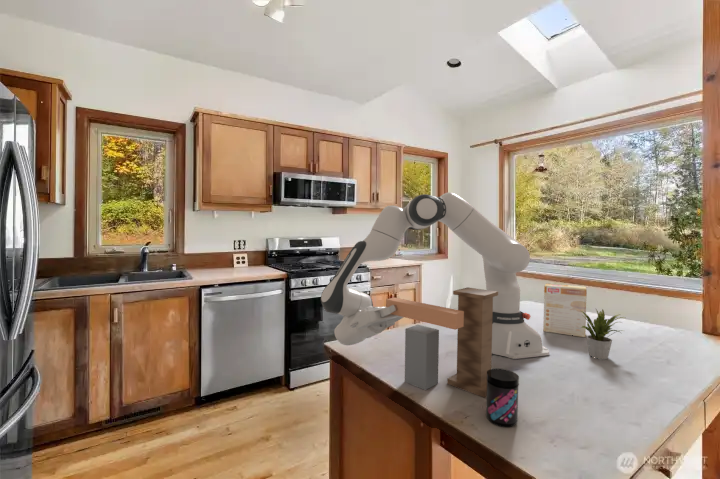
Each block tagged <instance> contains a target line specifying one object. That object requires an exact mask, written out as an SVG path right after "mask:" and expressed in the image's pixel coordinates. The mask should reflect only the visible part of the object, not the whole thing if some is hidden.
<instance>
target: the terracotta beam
mask: <svg viewBox="0 0 720 479" xmlns="http://www.w3.org/2000/svg"><path fill="white" fill-rule="evenodd" d="M392 305H397V308H398V310H397V311H395V312H392V313H391V314H393V315H397V316H401V317H403V318H407V319H409V320H415V321H419V322H423V323H426V324H431V325H435V326H438V327H443V328H446V329H450V330H451V329H452V330H454V331H455V330H458V329H459V328H461V327H464V311H460V310H458V309H455V308H451V307H450V308H449V307H443V306H439V305H434V304H429V303H424V302H419V301H414V300H410V299H404V298H400V297H399V298H398V297H391V298H386V299H385V307H386V308H387V307H390V306H392Z"/></svg>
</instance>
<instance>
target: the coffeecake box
mask: <svg viewBox="0 0 720 479" xmlns="http://www.w3.org/2000/svg"><path fill="white" fill-rule="evenodd" d="M543 292H544V293H543V294H544V295H543V324H542V325H543V326H542V327H543V332H545V333H546V332H547V333H552V334H560V335H565V336H566V335H567V336H572V335H573V336H574V337H579V338H580V337H581V338H586V330H587V329H585V328H581V327H582V326H586V327H587V320H586V319H587V318H586V316H585V315H584V314H583V313H582V312H581V311H583V312H584V313H585V314H587V286H581V285H571V284H570V285H568V284H556V283H545V285H544V290H543ZM582 315H583V316H584V317H583V316H582ZM573 336H572V337H573Z"/></svg>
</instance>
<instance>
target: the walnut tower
mask: <svg viewBox="0 0 720 479" xmlns="http://www.w3.org/2000/svg"><path fill="white" fill-rule="evenodd" d="M452 295H454V296H457V297H458V298H457V299H458V300H457V310H460V311H464V327H461V328H459V329H457V337H456V338H457V341H456V342H457V343H456V345H457V346H456V351H457V352H456V373H455V374H453V375H451V376H449V377H448V378H446V379H447V385H449V386H452V387H454V388H458V389H461V390H463V391H466V392H467V393H468V392H469V393H471V394H474V395H476V396H479V397H482V398H486V393H487V371H488V370H490V369H492V355H493V354H492V316H493V297H495V296H498V292H497V291H490V290H486V289H481V288H474V287H463V288H459V289H455V290H453V291H452Z"/></svg>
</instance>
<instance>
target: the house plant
mask: <svg viewBox="0 0 720 479" xmlns="http://www.w3.org/2000/svg"><path fill="white" fill-rule="evenodd" d="M601 309H602V310H601V311H598V310H597V308H595V311H596V313H597V317H596V318H595V319H593V321H592V320H591V318H590V316H589V315H588V314H587V313H586V314H585V313H584V312H583V311H581V312H582V313H583V314H584V315H585V316H586V326H582V327H581V328H585V329H586V330H587V331H588V332H589V334H590V335H587V336H586V339H587V340H586V341H587V347H588V354H589V356H590V357H591V356H592V357H591V358H594V357H595V358H594V359H597V358H599V359H598V360H608V359H609V356H610V352H611V351H610V350H611V347H612V343H613V339H612V338H609V337H610V336H612V335H613V334H616V333H617V332H618V333H620V334H622V332H624V330H617V329H613V328H611V327H612V326H614V325H615V324H617V323H619V321H616V320H619V319H625V317H624V316H623V317H621V314H616V315H615V314H614V315H613V316H612V317H610V318H607V319H606V315H605V311H604V309H603V308H601ZM582 316H583V315H582ZM618 316H620V317H618ZM583 317H584V316H583ZM614 321H616V322H614ZM613 322H614V323H613ZM620 323H622V324H623V322H622V321H620ZM610 332H613V333H611V334H610ZM608 334H609V335H608ZM607 335H608V336H607ZM607 358H608V359H607Z"/></svg>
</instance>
